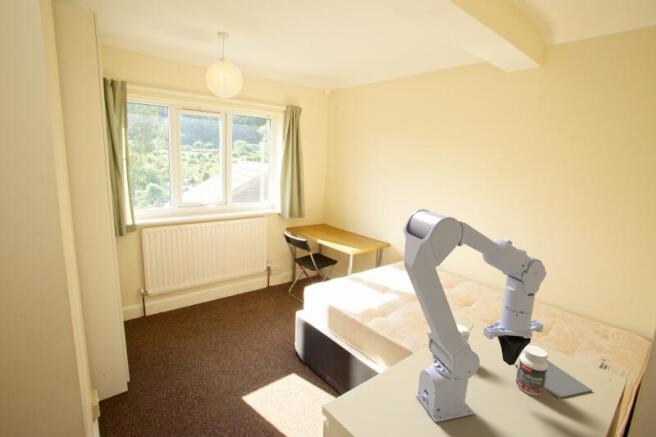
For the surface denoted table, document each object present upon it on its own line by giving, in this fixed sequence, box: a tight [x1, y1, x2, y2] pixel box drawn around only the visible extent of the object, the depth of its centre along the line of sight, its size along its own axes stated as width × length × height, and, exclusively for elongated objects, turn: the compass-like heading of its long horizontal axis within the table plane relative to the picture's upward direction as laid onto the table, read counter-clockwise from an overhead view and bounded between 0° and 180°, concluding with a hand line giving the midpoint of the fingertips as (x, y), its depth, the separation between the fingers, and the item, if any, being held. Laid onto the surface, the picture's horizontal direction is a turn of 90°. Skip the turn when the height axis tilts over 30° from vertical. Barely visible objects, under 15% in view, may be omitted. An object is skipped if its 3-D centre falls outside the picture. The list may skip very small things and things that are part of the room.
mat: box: [514, 359, 593, 400], centre depth 80 cm, size 10×12×1 cm
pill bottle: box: [515, 344, 549, 396], centre depth 75 cm, size 6×6×10 cm
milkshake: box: [456, 324, 474, 343], centre depth 86 cm, size 4×5×10 cm
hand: (508, 362), depth 72 cm, fingers closed
